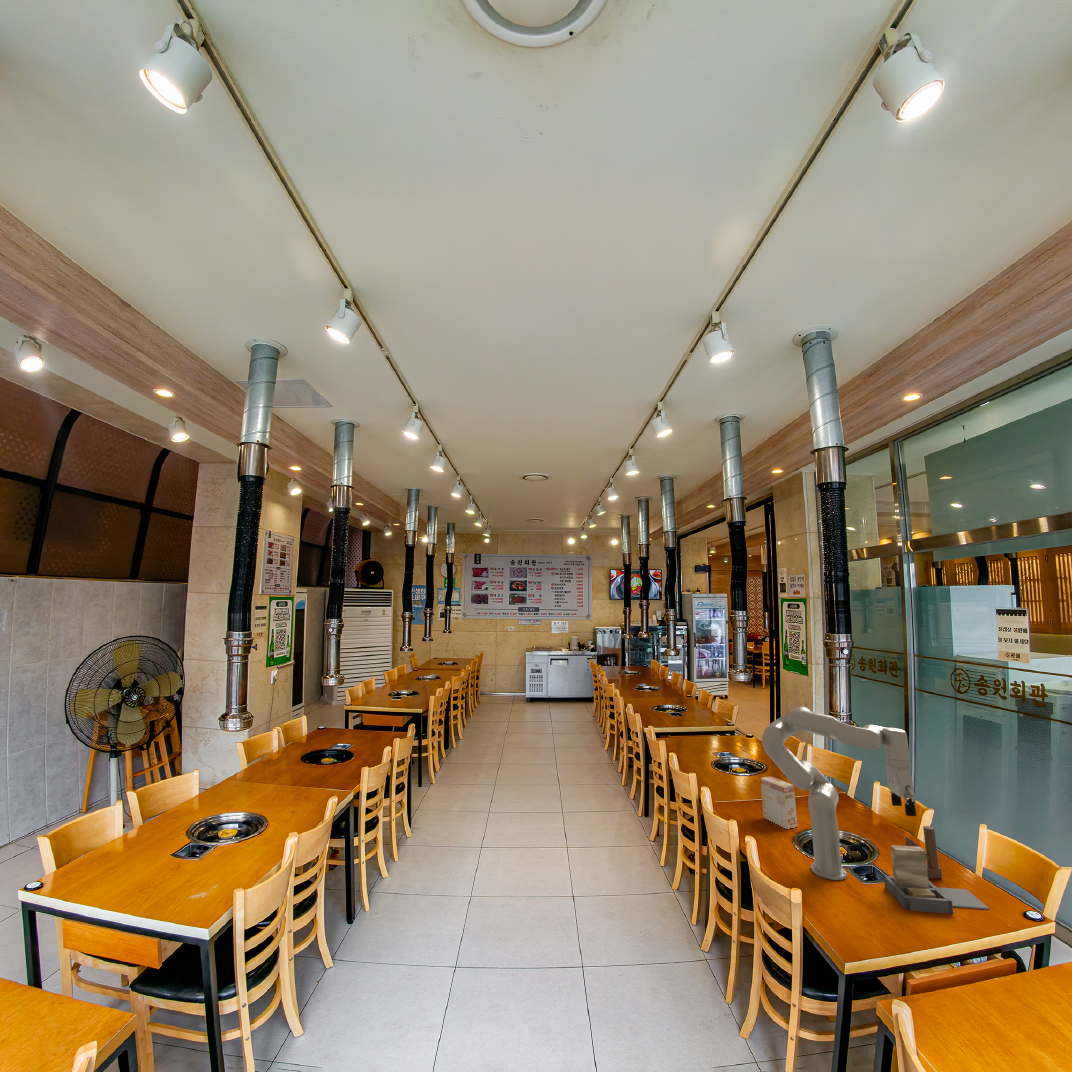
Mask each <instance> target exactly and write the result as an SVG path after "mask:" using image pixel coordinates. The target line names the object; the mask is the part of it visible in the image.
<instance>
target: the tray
mask: <svg viewBox="0 0 1072 1072" xmlns="http://www.w3.org/2000/svg"><path fill="white" fill-rule="evenodd" d="M883 878H884V879H883V880H884V887H885V889H886V890H887V891H888V892H889V893H890V894H891V895H892V897H894V898H895V899H896V900H897V902H898V903H899V904H900V905H901V906H902V907H903V908H904V909H905V910H906V911H910V912H911V911H914V912H926V913H935V914H936V913H937V914H949V915H950V914H951V915H953V914H954V907H952V901H951V900H950V899H949V898H948V897H947V896H946V895H944V894H943V893H942V892H941V891H940V890H939V889H938V888H939V887H938V888H937V886H936V885H934V884H933V883H932V882H931V881H930V880H929V879H928V881H929V888H922V887H907V886H897V885H896V884H895V883H894V876H892V875H884V876H883ZM907 888H918V889H929V890H930V891H931V892H932V893H934V894H935V895H936V898H926V897H912V896H907V895H908V890H907Z"/></svg>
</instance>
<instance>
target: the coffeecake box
mask: <svg viewBox="0 0 1072 1072" xmlns="http://www.w3.org/2000/svg"><path fill="white" fill-rule="evenodd" d="M760 784H761V785H760V787H761V797H762V798H761V800H762V813H763V814H762V815H763V819H764V818H765V819H764V820H766V819H767V820H766V821H768V820H769V822H770V821H771V823H772V822H773V823H772V824H774V823H775V824H774V825H776V824H777V825H776V826H778V825H779V827H780V826H781V828H782V827H783V828H782V829H784V828H785V830H786V829H788V830H791V829H790V828H794V829H796V828H795V827H798V822H797V821H798V819H797V810H796V809H797V808H796V807H797V806H796V796H795V794H796V793H795V786H794V785H793V783H789V782H786V781H784V780H782V779H779V778H777V777H774V776H764V777H760Z"/></svg>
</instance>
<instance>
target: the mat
mask: <svg viewBox="0 0 1072 1072" xmlns="http://www.w3.org/2000/svg"><path fill="white" fill-rule="evenodd" d="M936 887H937V886H936ZM937 888H938V889H939V890H940V891H941V892H942V893H943V894H944V895H946V896H947V897H948V898H949V899H950V900H951V901H952V907H953V908H962V909H975V910H986V911H987V910H990V908H989V907H988V906H987V905H986V904H985V903H983V902H982V901H981V900H980V899H978V897H976V896H975V895H974V894H972V893H971V892H970V891H969V890H968V889H965V888H950V887H937Z"/></svg>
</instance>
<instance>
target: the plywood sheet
mask: <svg viewBox="0 0 1072 1072" xmlns="http://www.w3.org/2000/svg"><path fill="white" fill-rule="evenodd" d="M889 846H890V855H891V866H892V874H893V877H894V883H895V884H896V885H897V886H907V887H922V888H929V881H930V880H929V878H928V873H927V859H926V855H925V853H926V850H924V849H923V848H922V847H921V846H918V847H914V846H906V845H897V844H896V845H895V844H894V845H893V844H891V845H889ZM928 880H929V881H928Z"/></svg>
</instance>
